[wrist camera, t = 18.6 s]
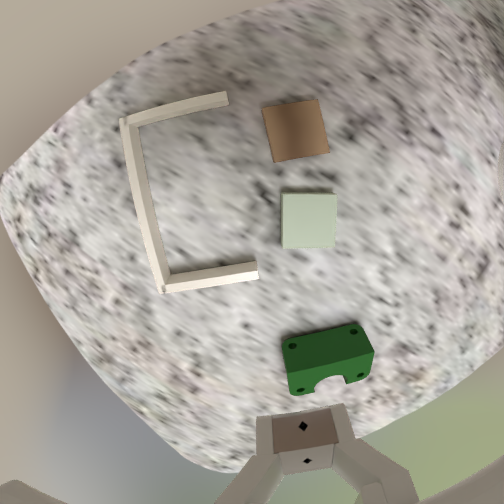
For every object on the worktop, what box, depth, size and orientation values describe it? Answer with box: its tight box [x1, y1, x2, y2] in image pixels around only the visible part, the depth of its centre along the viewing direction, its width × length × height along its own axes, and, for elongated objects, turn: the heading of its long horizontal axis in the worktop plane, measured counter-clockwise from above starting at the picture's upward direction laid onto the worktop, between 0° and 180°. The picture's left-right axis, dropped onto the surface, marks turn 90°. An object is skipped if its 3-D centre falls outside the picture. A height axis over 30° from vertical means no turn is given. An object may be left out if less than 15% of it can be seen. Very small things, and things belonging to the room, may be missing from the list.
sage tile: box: [281, 192, 337, 249], centre depth 32 cm, size 6×6×2 cm
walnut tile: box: [262, 99, 330, 163], centre depth 29 cm, size 6×6×2 cm
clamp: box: [282, 324, 375, 396], centre depth 35 cm, size 12×6×9 cm, turn 95°
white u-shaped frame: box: [119, 91, 259, 294], centre depth 30 cm, size 12×20×3 cm, turn 9°
